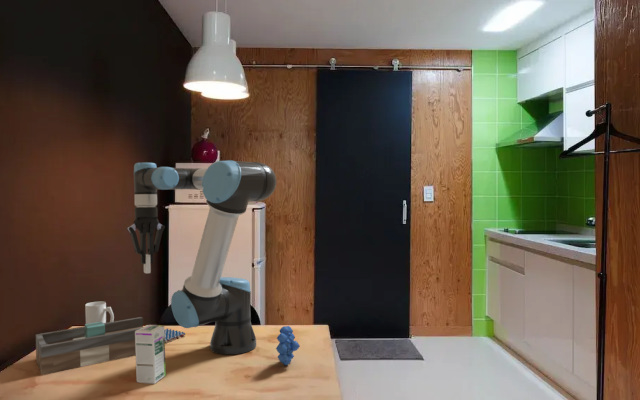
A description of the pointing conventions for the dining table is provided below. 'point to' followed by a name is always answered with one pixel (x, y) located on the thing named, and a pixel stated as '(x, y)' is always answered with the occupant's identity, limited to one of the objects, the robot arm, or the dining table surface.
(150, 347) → the syrup box
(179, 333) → the woven mat
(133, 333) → the track
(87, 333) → the block
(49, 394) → the dining table surface
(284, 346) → the grapes
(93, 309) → the mug
